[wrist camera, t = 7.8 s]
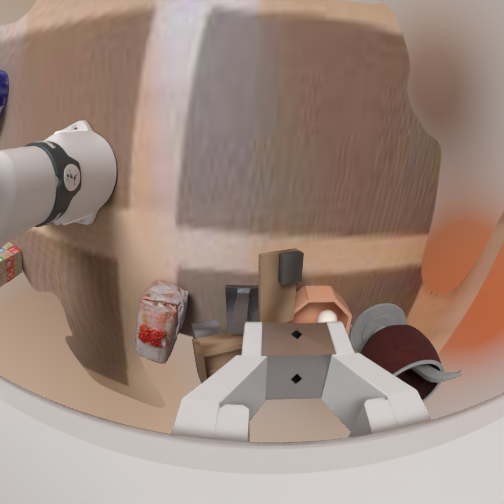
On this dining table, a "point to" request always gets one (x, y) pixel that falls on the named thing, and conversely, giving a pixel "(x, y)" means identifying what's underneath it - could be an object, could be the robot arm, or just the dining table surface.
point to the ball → (326, 316)
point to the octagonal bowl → (320, 305)
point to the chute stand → (241, 307)
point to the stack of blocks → (9, 263)
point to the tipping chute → (269, 310)
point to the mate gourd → (398, 348)
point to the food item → (160, 320)
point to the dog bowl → (3, 90)
